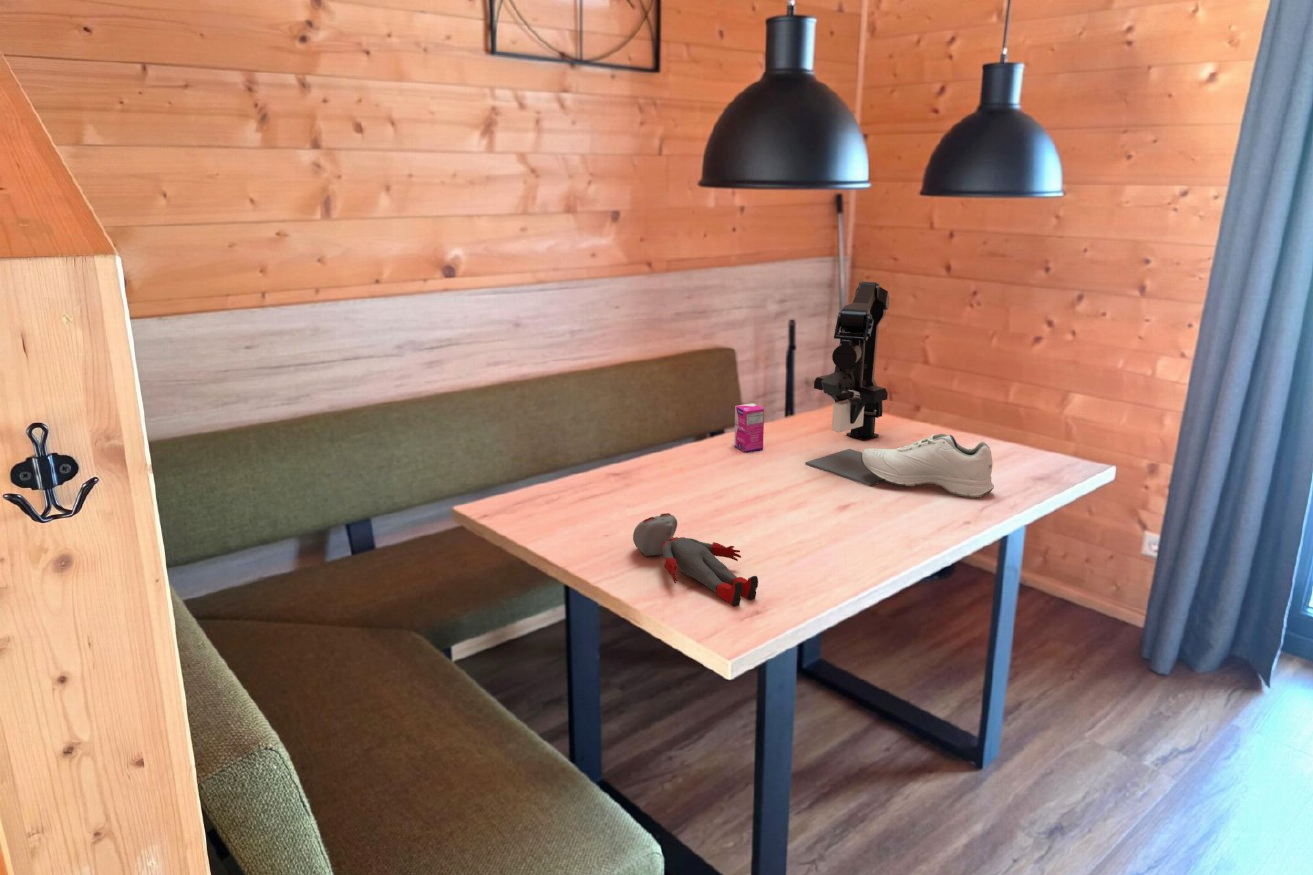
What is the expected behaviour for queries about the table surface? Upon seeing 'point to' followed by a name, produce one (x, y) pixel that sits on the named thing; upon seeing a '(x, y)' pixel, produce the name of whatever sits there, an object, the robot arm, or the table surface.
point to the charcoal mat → (846, 466)
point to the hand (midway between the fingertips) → (847, 422)
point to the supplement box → (749, 427)
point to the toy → (693, 558)
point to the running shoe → (934, 465)
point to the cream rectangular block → (844, 417)
